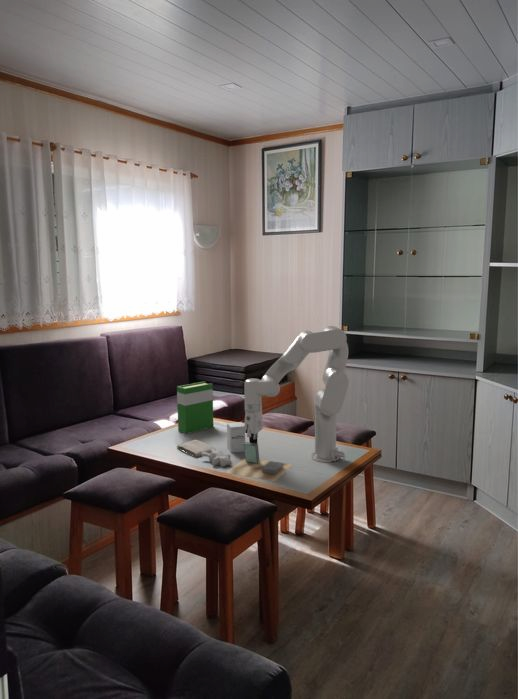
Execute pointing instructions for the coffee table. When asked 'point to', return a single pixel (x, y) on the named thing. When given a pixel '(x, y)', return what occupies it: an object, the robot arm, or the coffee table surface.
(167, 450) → the coffee table surface
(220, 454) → the bunny figurine
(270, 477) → the oak board
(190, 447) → the grey tracked toy vehicle
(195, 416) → the hardback book
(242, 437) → the supplement box
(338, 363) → the robot arm
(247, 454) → the tile far
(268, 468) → the tile near
